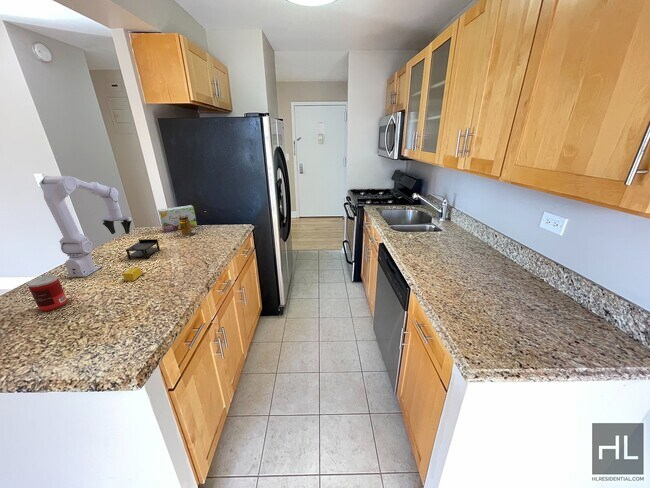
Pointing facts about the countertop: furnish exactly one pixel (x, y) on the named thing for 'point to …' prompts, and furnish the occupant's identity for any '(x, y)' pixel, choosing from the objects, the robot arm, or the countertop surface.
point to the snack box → (176, 217)
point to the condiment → (185, 226)
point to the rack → (143, 248)
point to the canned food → (47, 292)
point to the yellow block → (132, 274)
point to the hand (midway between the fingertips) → (120, 233)
